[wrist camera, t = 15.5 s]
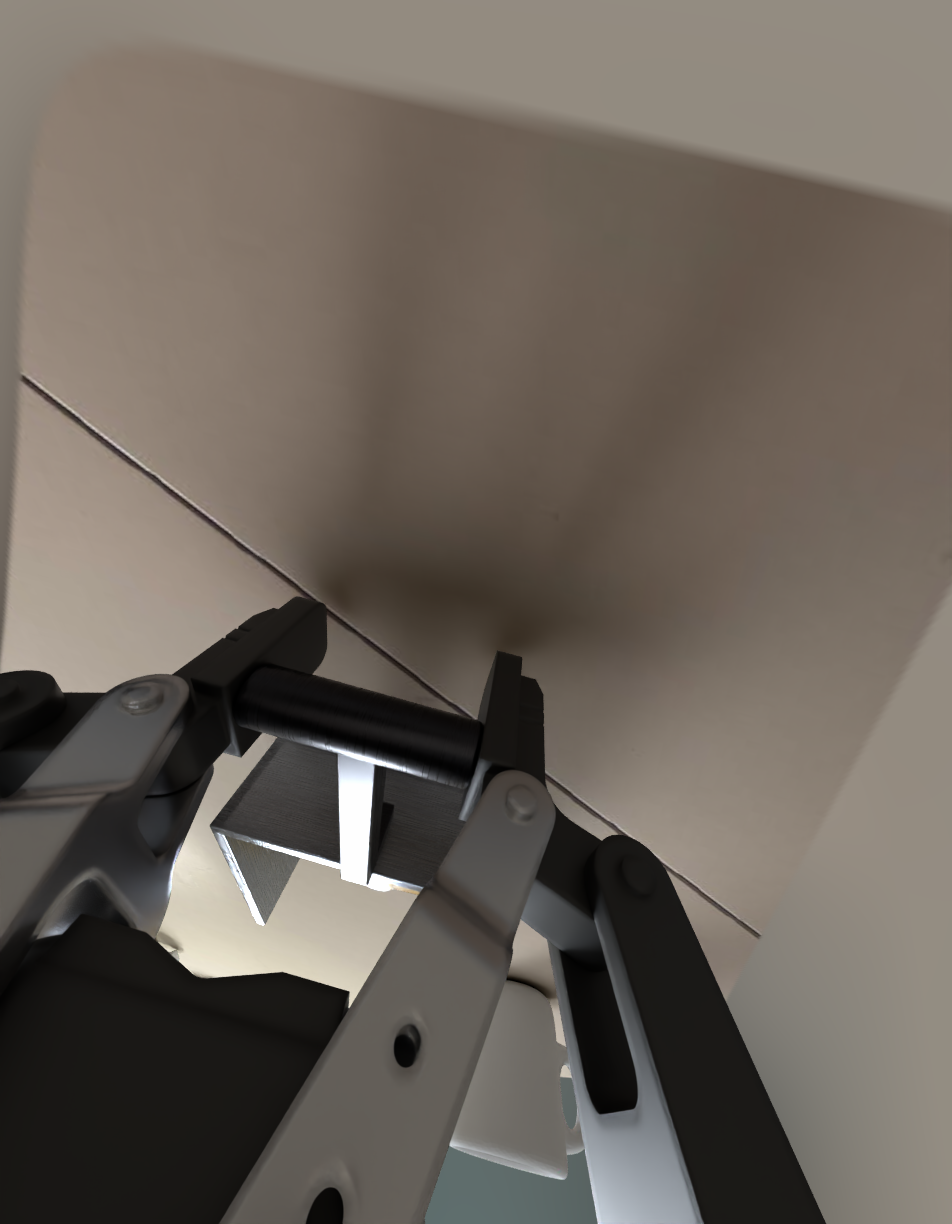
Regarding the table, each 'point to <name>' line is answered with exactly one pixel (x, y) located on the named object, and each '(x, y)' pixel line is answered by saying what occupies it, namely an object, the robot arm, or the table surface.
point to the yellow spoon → (388, 886)
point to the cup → (519, 1090)
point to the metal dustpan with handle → (343, 785)
